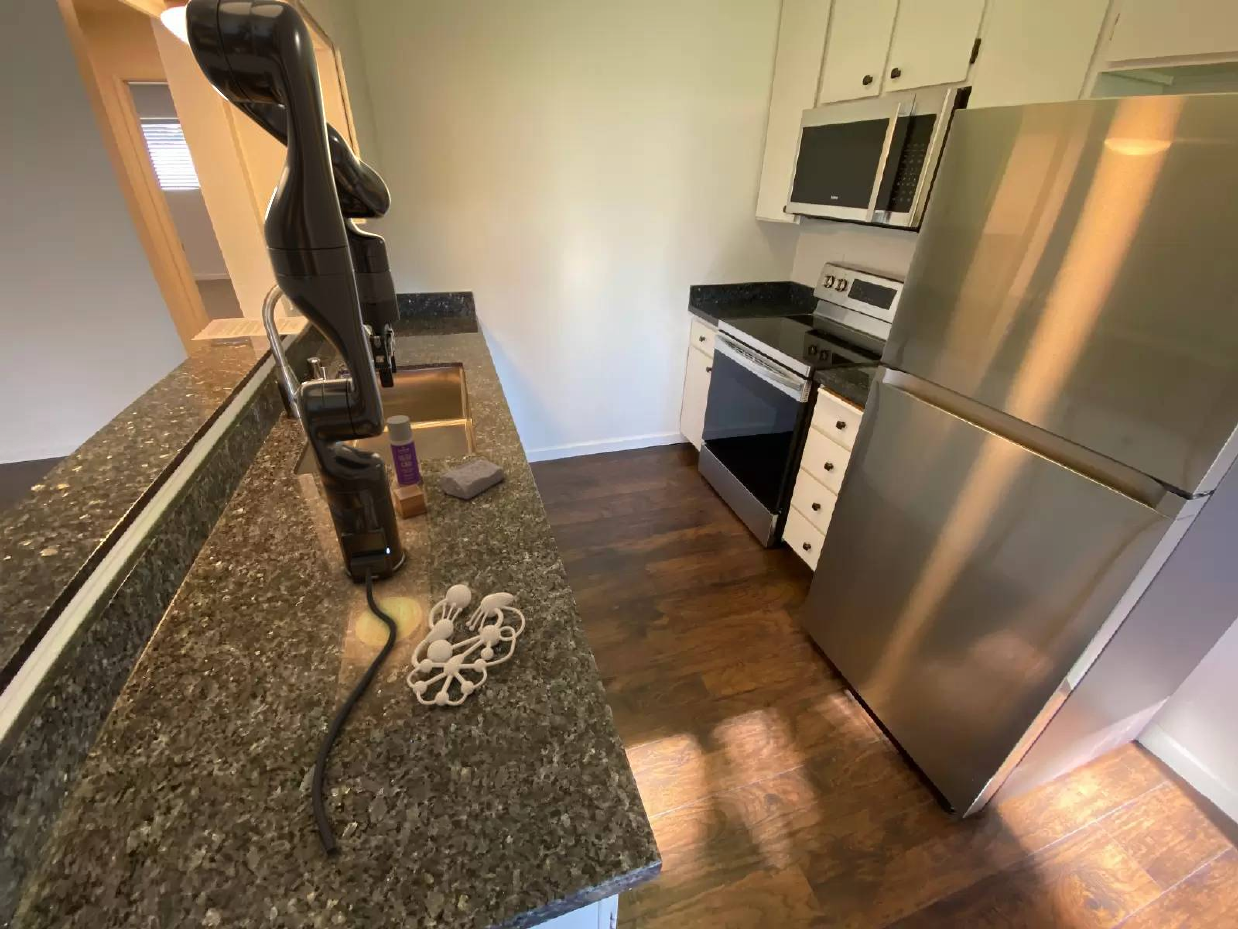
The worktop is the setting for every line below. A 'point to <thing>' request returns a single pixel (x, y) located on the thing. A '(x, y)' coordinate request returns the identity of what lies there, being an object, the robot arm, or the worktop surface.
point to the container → (403, 450)
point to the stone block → (471, 478)
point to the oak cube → (409, 501)
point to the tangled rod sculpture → (461, 643)
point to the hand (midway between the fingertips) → (390, 379)
